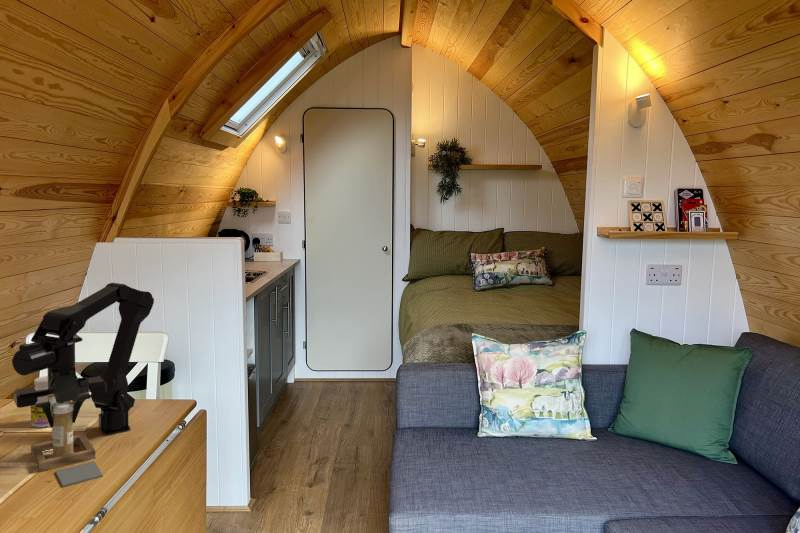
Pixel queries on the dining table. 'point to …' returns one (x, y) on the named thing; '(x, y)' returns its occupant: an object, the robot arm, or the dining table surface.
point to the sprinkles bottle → (62, 428)
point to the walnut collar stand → (65, 459)
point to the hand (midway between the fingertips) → (62, 424)
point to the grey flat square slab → (78, 473)
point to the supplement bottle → (36, 412)
